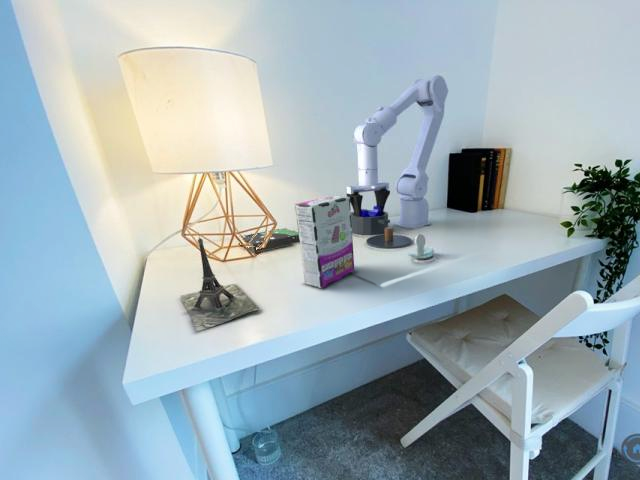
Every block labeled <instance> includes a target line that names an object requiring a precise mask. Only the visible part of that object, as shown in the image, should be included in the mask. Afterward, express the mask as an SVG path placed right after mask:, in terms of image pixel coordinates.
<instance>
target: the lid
mask: <svg viewBox="0 0 640 480" xmlns="http://www.w3.org/2000/svg"><path fill="white" fill-rule="evenodd" d="M365 240H366V241H365V242H366V244H367V245H368V246H370V247H371V248H376V249H385V250H386V249H387V250H388V249H391V250H392V249H400V248H405V247H407V246H410V245H411V244H412V243H413V242H412V238H410V237H409V236H407V235H402V234H401V235H400V234H394V227H393V226H388V227H385V233H384V234H380V235H372V236H370V237H368V238H367V239H365Z"/></svg>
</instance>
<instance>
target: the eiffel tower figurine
mask: <svg viewBox="0 0 640 480" xmlns="http://www.w3.org/2000/svg"><path fill="white" fill-rule="evenodd" d="M197 233H198V239H197V243H198V245H199V250H200V257H201V265H202V275H203V276H202V277H201V279H202V286H201V290H199V291H195V292H191V293H186V294H182V295H180V298H181V301H182V303H183V305H184V308H185V309H186V311H187V313H188V314H189V316H190V318H191V321H192V323H193V325H194V327H195V330H196V332H200V331H203V330H207V329H209V328H212V327H216V326H218V325H221V324H224V323H226V322H229V321H231V320H234V319H236V318H238V317H240V316H243V315H245V314H248V313H249V314H250V313H251V312H254V311H257V310H260V308H259V307H258V305H257V304H256V303H255V302H254V301H253V300H251V299H250V298H249V296H248V295H247V294H245V292H244V291H243V290H241V288H240V287H239V286H238V285H237V284H236V283H232V284H227V285H221V284H220V283H219V281H218V279H217V278H216V274H214V272H213V270H212V267H211V265H210V262H209V258H208V255H207V252H206V249H205V247H204V239H203V238H201V236H200V232H197Z"/></svg>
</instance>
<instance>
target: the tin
mask: <svg viewBox="0 0 640 480" xmlns="http://www.w3.org/2000/svg"><path fill="white" fill-rule="evenodd" d="M370 210H371V209H367V211H368V212H369V211H370ZM351 223H352V234H354V235H359V236H377V235H385V227H389V224H390V223H391V219H389V213H388V212H387V211H385V210H384V211H383V214H382V216H377V217H359V216H355V214H354V211H351Z"/></svg>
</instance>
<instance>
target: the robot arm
mask: <svg viewBox="0 0 640 480" xmlns="http://www.w3.org/2000/svg"><path fill="white" fill-rule="evenodd" d="M448 94H449V88H448V86H447V82H446V80H445V78H444V77H443V76H442V75H439V74H437V75H434V76H432V77H427V78H421V79H420V78H419V79H417V80H415V81H414V82H413V83H411V84H410V85H409V86H408V87H407V89H406V90H404V92H403V93H402V94H401V95H400V96H399V97H398V98H396V100H394V101H393V103H392V104H391V105H390V106H389V105H383V106H378V107H377V108H376V111H377V112H375V113H374V114H373V115H372V116H370V117H367V118H366V119H365V123H364V124H363V123H362V124H359V125H357V126H356V128H355V130H354V132H353V135H352V138H353V142H354V143H355V144H356V150H357V171H358V184H355V185H354V184H353V185H350V186H346V197H350V206H351V207H352V211H353V212H354V214H355V216H359V217H361V209H362V202H363V199H364V195H363V194H360V193H368V192H374V196H375V203H376V206H382V207H381V214H383V211H385V206H386V203H387V200H388V198H389V197H390V195H391V190H390V183H389V182H379V169H378V167H379V165H378V145H379V144H380V143H381V141H382V137H383V136H384V135H385V134H386V133H387V132H388V131H389V130H390V129H392V128H393V127H394V126H395V125H397V121H398V116H400V115H401V114H402V113H403V112H404V111H406V110H407V109H408V108H409V107H411V106H412V105H413V104H414V103H416V105H417V106H418V108H419V109H420V110H421V112H422V113H423V115H424V118H423V121H422V125H421V127H420V131H419V133H418V137H417V140H416V143H415V146H414V150H413V152H412V155H411V159H410V162H409V165H408V166H407V167H406V168H405V169H403V170H402V173H401V175H400V176H399V178H398V179H397V180H396V183H395V190H396V193H397V194H398V195H399V196H398V198H399V222H395V223H394V224H395V225H396V226H397V225H398V226H401V227H406V228H409V229H411V228H416V227H420V226H423V227H425V226H430V222H429V209H430V208H429V207H430V206H429V202H428V200H427V199H426V198H425V196H426V194H427V191H428V182H429V179H430V177H429V175H428V174H427V172H426V169H427V167H428V165H429V161H430V158H431V155H432V152H433V148H434V147H435V143H436V141H437V137H438V134H439V132H440V128H441V125H442V122H443V119H444V116H445V103H446V100H447V97H448Z"/></svg>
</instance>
